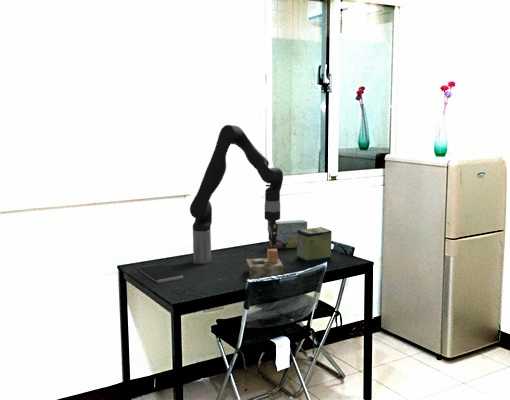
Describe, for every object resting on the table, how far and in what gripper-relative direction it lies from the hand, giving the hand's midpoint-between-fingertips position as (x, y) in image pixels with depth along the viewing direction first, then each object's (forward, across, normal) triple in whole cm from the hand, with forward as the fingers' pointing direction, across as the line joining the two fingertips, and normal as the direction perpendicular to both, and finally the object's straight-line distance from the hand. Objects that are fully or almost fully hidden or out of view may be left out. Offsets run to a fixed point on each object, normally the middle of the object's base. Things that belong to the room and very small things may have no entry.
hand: (272, 242), depth 283 cm
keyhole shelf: (+16, 0, -4) cm, 16 cm away
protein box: (+16, -23, +26) cm, 38 cm away
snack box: (+16, -49, +17) cm, 54 cm away
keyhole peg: (+13, 0, 0) cm, 13 cm away
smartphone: (+17, -9, -54) cm, 58 cm away
